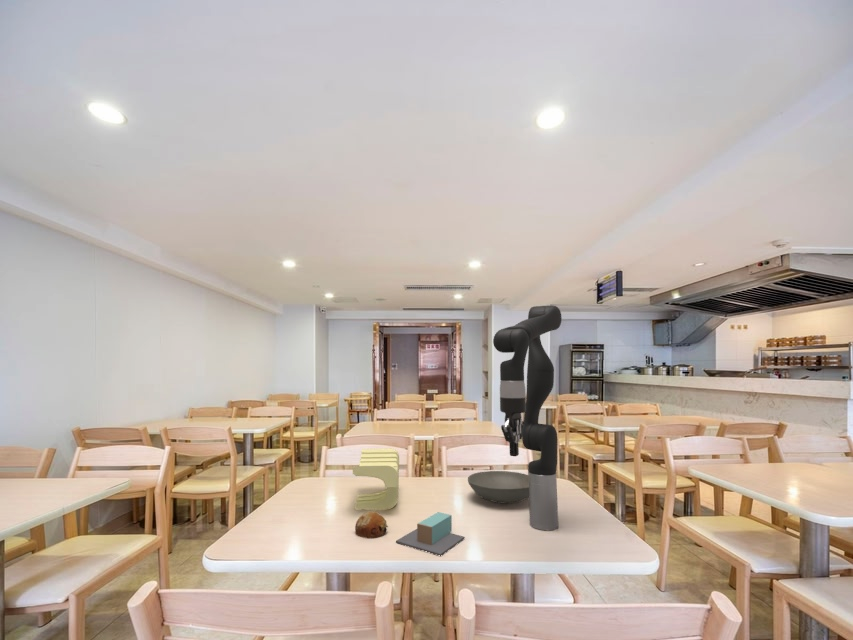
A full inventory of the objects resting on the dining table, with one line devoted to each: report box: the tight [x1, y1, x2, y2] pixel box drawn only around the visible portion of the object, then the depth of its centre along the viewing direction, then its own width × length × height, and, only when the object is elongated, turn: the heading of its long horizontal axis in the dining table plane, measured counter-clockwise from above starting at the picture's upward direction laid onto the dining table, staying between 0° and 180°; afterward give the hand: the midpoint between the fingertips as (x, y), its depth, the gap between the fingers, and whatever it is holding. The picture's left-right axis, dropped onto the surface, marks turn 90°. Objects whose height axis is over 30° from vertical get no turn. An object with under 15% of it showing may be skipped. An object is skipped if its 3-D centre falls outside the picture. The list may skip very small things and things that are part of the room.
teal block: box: [416, 511, 453, 545], centre depth 127 cm, size 5×5×12 cm
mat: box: [395, 528, 466, 557], centre depth 125 cm, size 14×16×1 cm
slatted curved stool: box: [352, 448, 400, 510], centre depth 160 cm, size 30×16×18 cm, turn 3°
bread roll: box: [354, 510, 389, 539], centre depth 132 cm, size 10×10×8 cm
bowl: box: [467, 470, 529, 504], centre depth 163 cm, size 27×28×8 cm
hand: (514, 455), depth 120 cm, fingers closed
